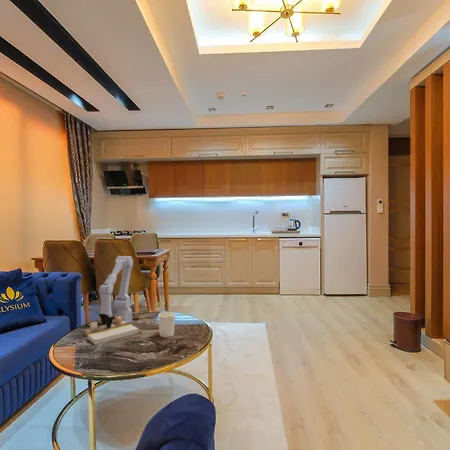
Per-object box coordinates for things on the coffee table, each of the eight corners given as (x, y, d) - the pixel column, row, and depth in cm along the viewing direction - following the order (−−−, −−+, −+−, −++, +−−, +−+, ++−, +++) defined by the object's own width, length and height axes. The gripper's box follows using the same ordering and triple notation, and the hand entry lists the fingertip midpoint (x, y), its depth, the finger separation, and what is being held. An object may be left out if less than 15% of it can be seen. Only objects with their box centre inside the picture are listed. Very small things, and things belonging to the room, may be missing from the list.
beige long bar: (123, 326, 205) (123, 320, 205) (127, 328, 201) (126, 322, 201) (85, 335, 189) (85, 329, 189) (87, 337, 185) (87, 331, 185)
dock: (130, 328, 200) (130, 323, 200) (138, 332, 191) (138, 328, 191) (87, 338, 182) (87, 334, 182) (94, 344, 174) (94, 339, 174)
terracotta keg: (120, 321, 203) (120, 315, 203) (122, 323, 200) (122, 317, 200) (114, 323, 200) (113, 316, 200) (116, 324, 197) (116, 318, 197)
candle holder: (177, 331, 192) (176, 312, 192) (172, 337, 182) (172, 317, 182) (161, 331, 193) (161, 311, 193) (156, 337, 183) (155, 317, 183)
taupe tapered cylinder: (96, 327, 193) (95, 320, 193) (98, 328, 190) (98, 322, 190) (89, 328, 190) (89, 322, 190) (91, 330, 187) (91, 323, 187)
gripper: (95, 303, 197) (95, 324, 198) (104, 307, 187) (104, 330, 187) (106, 301, 202) (106, 322, 202) (115, 305, 191) (116, 327, 192)
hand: (106, 326), depth 195 cm, fingers open, 7 cm apart
